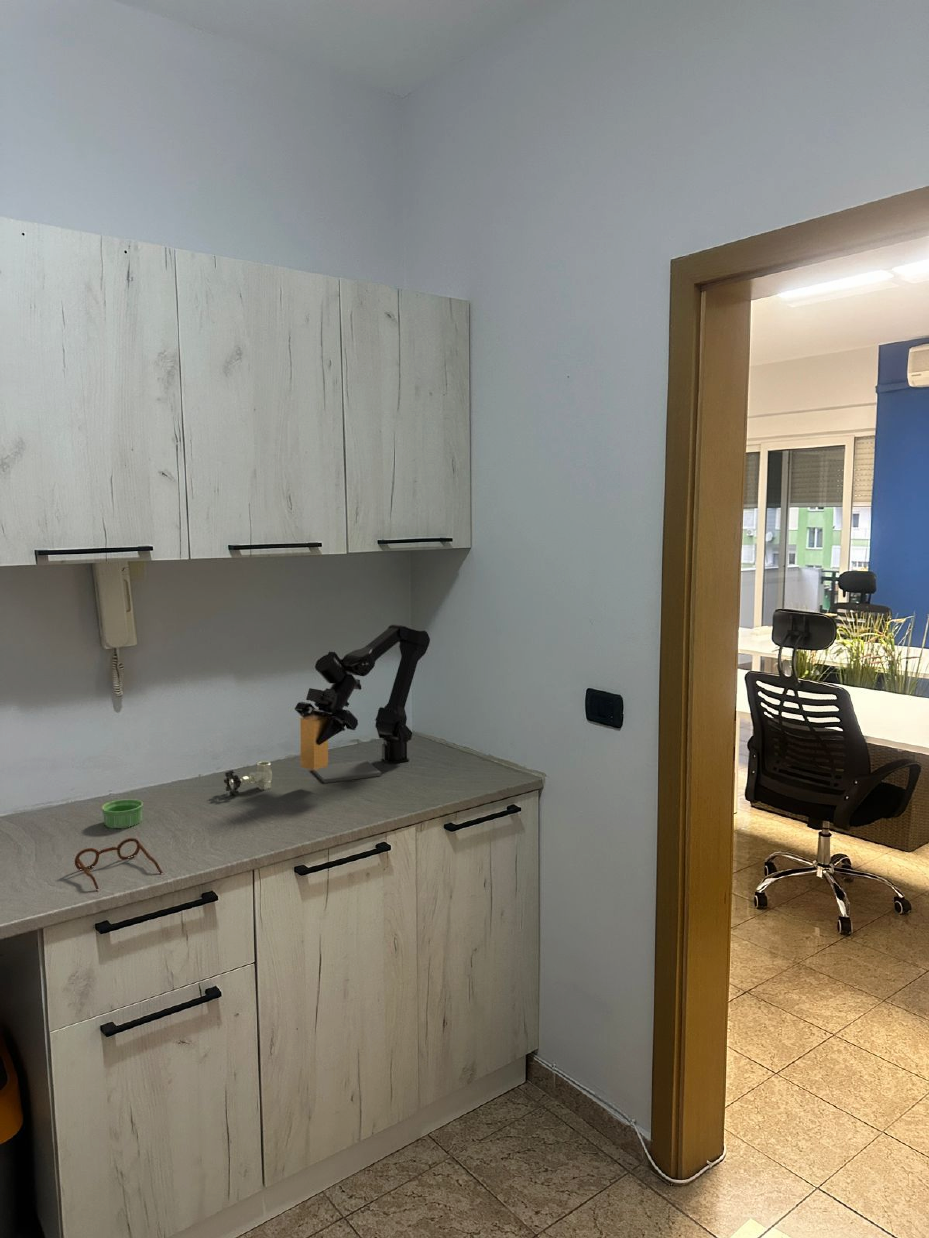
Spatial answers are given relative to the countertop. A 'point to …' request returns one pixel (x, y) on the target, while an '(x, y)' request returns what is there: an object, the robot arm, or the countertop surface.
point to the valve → (250, 778)
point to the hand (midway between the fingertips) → (310, 742)
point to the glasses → (111, 850)
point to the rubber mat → (347, 771)
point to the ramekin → (122, 813)
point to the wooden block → (313, 742)
